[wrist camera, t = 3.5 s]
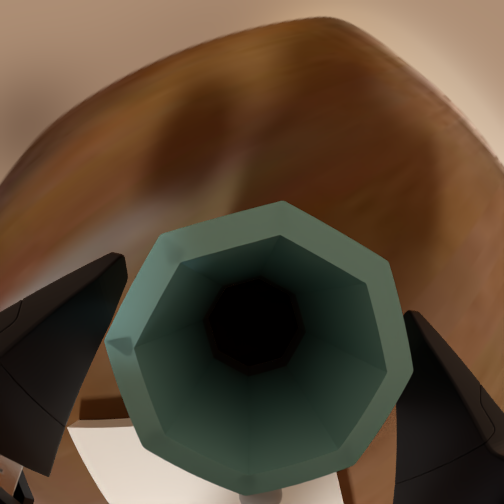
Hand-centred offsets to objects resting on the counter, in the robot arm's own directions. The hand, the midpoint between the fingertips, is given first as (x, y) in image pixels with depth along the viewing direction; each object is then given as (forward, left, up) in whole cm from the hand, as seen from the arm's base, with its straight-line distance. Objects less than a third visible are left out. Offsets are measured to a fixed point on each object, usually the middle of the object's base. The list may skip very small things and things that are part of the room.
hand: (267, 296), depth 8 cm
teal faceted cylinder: (-1, +1, -7) cm, 7 cm away
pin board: (-13, +6, -7) cm, 16 cm away
